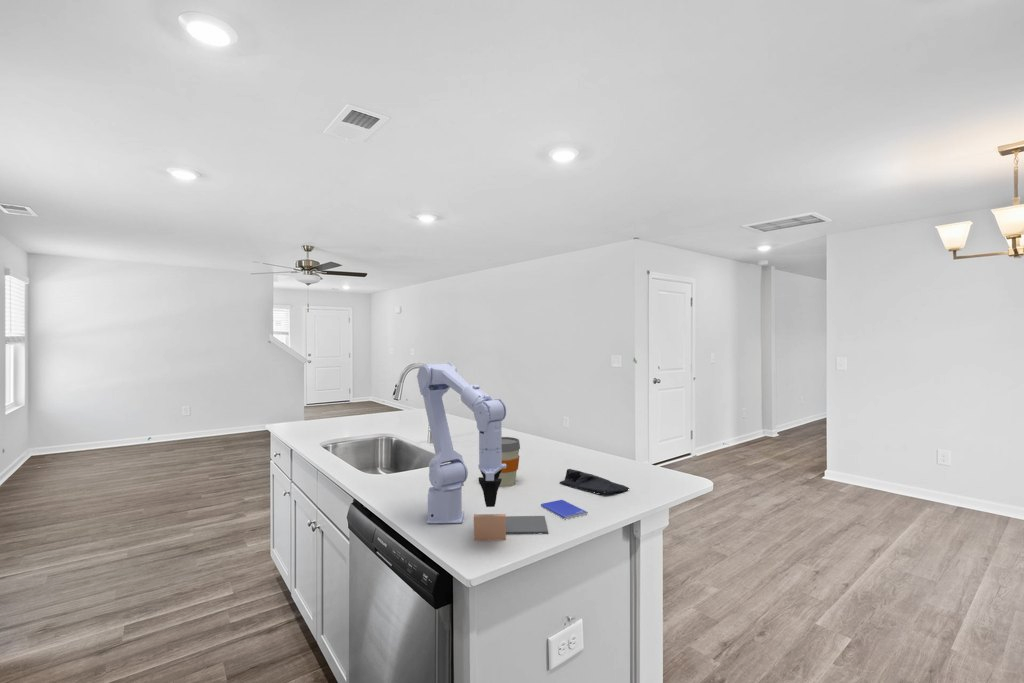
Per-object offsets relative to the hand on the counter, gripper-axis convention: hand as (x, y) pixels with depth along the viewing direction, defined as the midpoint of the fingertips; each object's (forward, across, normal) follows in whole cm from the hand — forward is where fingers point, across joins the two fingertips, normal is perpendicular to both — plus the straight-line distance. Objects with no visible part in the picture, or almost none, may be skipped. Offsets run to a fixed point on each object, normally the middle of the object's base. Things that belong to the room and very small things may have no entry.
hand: (490, 501), depth 120 cm
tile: (+10, 0, 0) cm, 10 cm away
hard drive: (+10, +19, -21) cm, 30 cm away
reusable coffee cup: (+10, +47, -3) cm, 48 cm away
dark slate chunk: (+10, +42, -34) cm, 55 cm away
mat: (+9, +8, -8) cm, 14 cm away
